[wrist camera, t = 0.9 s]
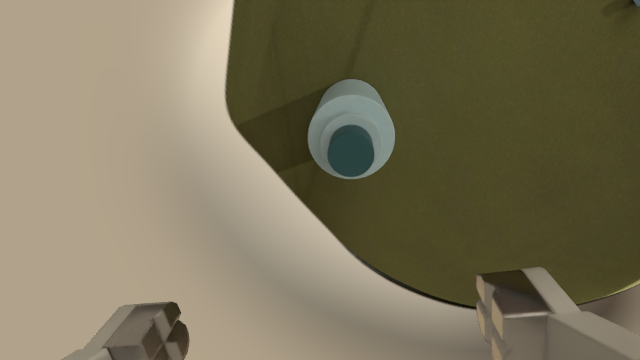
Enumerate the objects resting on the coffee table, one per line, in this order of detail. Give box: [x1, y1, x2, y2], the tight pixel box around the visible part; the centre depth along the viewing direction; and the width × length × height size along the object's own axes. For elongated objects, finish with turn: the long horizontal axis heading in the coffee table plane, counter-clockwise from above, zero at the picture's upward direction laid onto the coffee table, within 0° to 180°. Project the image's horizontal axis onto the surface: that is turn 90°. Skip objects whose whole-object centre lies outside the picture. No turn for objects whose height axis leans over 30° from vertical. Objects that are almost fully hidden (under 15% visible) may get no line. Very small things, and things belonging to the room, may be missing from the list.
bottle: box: [308, 79, 395, 179], centre depth 26 cm, size 6×6×12 cm
